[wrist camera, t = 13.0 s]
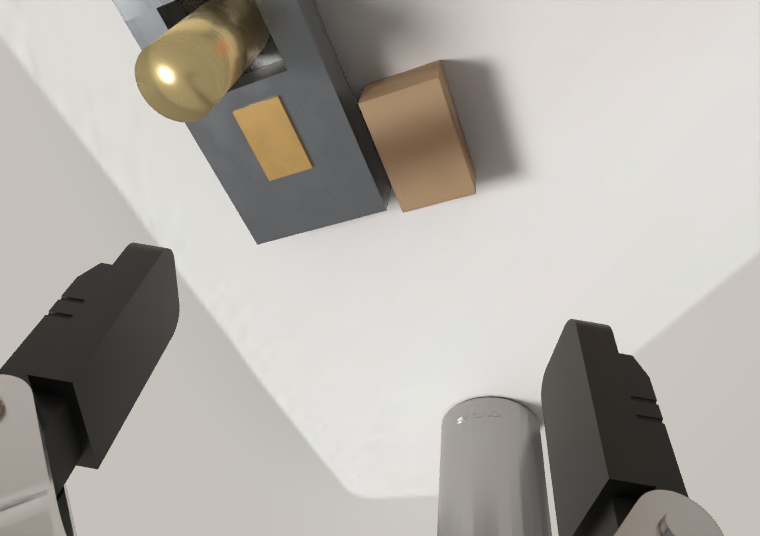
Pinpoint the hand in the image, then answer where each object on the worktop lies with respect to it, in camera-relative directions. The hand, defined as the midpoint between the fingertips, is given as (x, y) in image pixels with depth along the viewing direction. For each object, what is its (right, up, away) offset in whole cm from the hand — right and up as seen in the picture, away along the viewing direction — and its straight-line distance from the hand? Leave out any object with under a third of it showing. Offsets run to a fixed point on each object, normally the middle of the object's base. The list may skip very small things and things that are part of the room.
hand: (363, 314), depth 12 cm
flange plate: (-7, +13, +27) cm, 30 cm away
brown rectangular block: (+3, +10, +27) cm, 29 cm away
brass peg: (-8, +16, +24) cm, 30 cm away
